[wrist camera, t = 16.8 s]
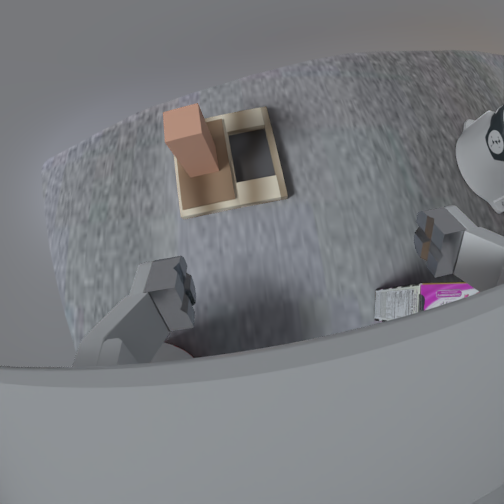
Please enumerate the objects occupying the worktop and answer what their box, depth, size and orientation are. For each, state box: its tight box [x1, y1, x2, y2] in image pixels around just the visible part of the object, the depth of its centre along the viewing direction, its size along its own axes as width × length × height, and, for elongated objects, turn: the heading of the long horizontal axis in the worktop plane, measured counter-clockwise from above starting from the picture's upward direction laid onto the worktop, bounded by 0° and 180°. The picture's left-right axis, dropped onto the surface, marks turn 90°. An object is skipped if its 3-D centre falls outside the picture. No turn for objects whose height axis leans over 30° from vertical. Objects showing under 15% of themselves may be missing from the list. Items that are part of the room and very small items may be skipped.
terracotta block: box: [163, 103, 219, 178], centre depth 41 cm, size 4×4×12 cm
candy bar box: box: [374, 282, 480, 322], centre depth 35 cm, size 11×5×16 cm, turn 88°
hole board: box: [174, 107, 288, 219], centre depth 48 cm, size 16×16×2 cm
